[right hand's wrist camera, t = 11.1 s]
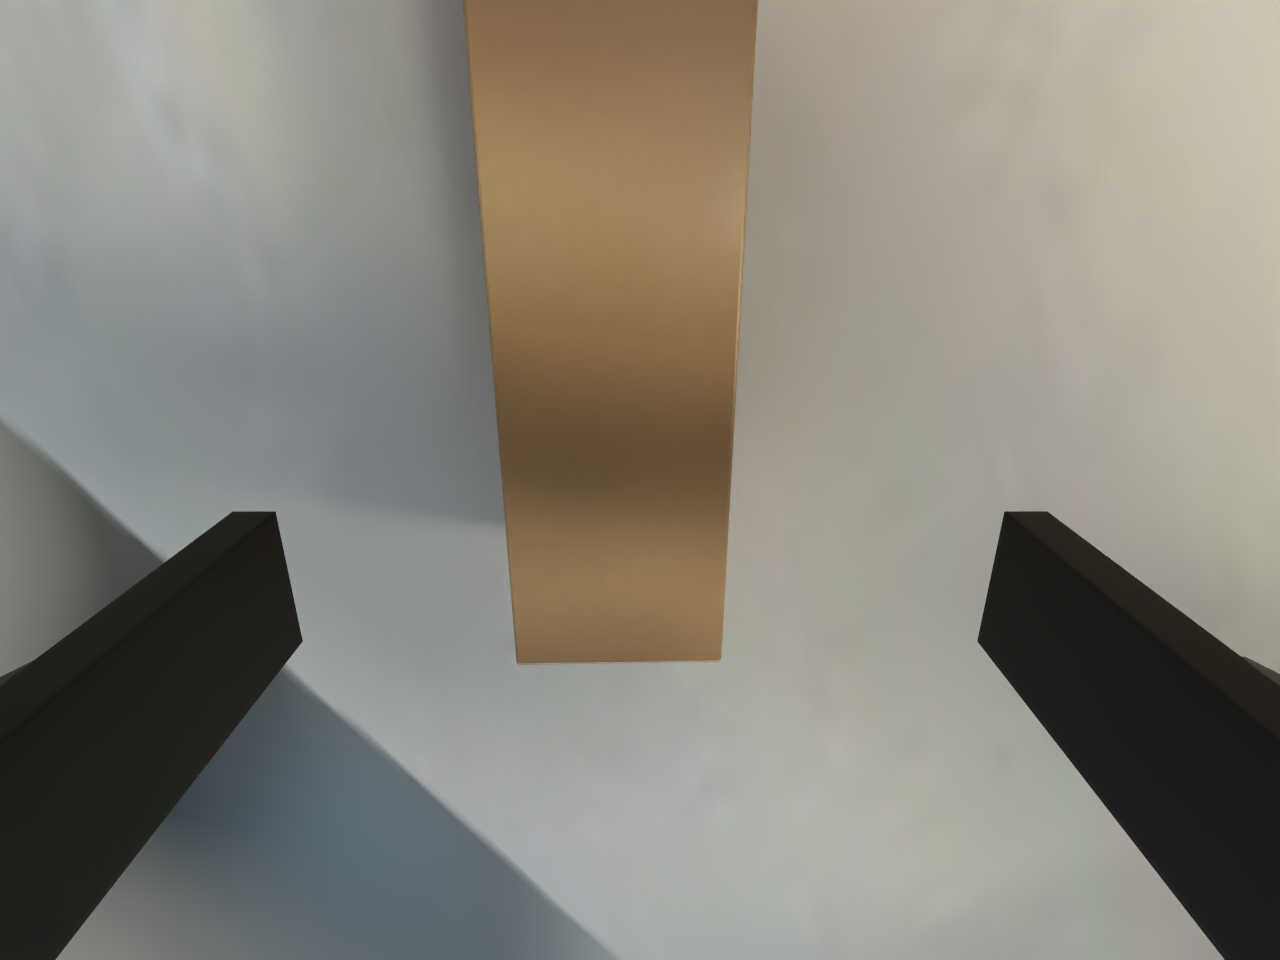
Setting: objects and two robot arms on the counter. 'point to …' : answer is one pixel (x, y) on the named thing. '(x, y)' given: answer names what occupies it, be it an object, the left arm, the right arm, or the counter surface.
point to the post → (614, 311)
